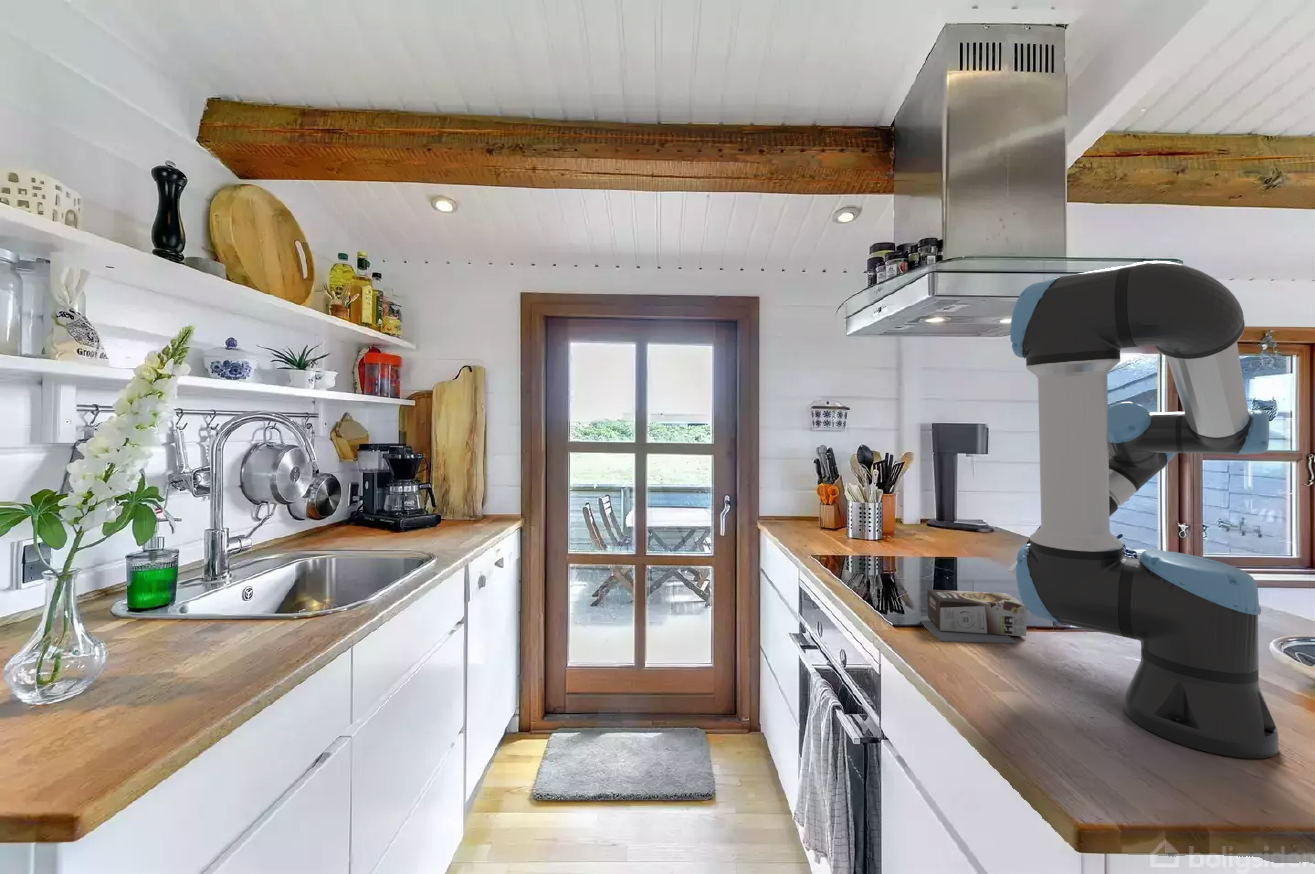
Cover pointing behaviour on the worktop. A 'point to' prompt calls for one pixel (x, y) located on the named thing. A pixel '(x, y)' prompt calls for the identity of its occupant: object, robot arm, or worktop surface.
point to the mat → (965, 635)
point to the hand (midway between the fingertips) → (1013, 575)
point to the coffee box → (977, 612)
